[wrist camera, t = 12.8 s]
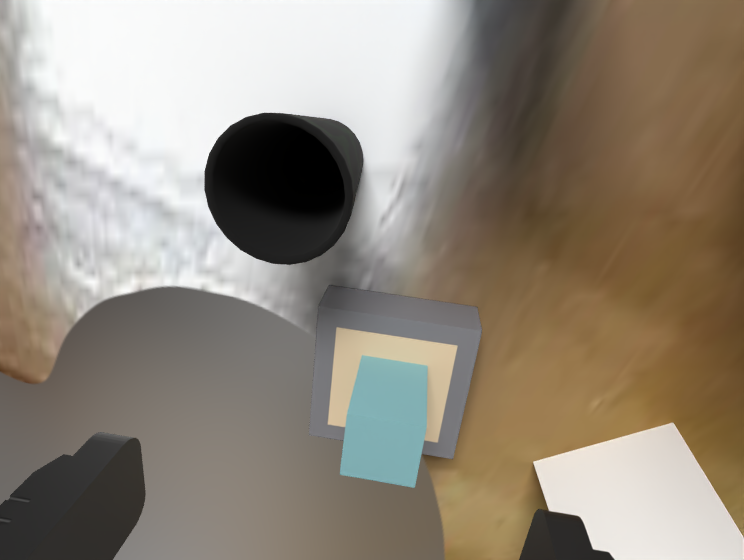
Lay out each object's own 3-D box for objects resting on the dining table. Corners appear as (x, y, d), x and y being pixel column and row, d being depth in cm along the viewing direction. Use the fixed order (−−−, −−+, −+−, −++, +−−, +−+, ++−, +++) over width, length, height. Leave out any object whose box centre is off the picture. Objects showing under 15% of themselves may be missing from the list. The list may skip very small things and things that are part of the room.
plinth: (477, 306, 38) (482, 331, 34) (451, 426, 43) (453, 459, 39) (328, 285, 39) (318, 306, 35) (319, 405, 44) (308, 435, 40)
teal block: (427, 365, 36) (426, 427, 30) (417, 418, 38) (414, 487, 31) (361, 354, 36) (346, 413, 30) (355, 408, 38) (339, 474, 32)
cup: (369, 218, 36) (342, 277, 25) (271, 200, 37) (203, 251, 26) (385, 112, 33) (362, 127, 22) (278, 94, 34) (204, 100, 23)
